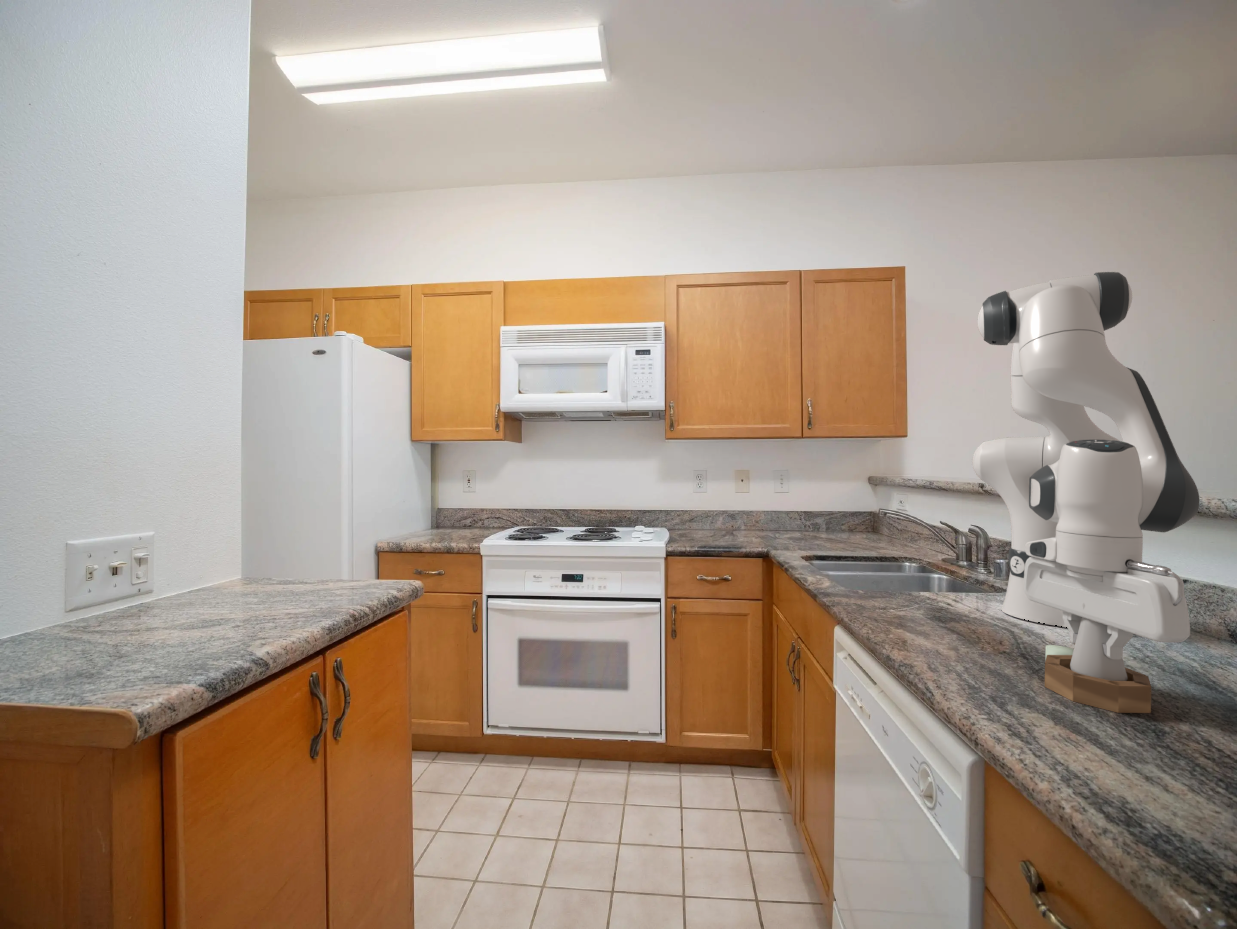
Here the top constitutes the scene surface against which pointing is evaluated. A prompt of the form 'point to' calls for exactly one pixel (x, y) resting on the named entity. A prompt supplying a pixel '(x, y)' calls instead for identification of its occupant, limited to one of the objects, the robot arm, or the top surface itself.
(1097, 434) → the robot arm
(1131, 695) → the walnut ring
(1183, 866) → the top surface
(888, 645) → the top surface
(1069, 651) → the smooth pale green pebble
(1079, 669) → the salt shaker
